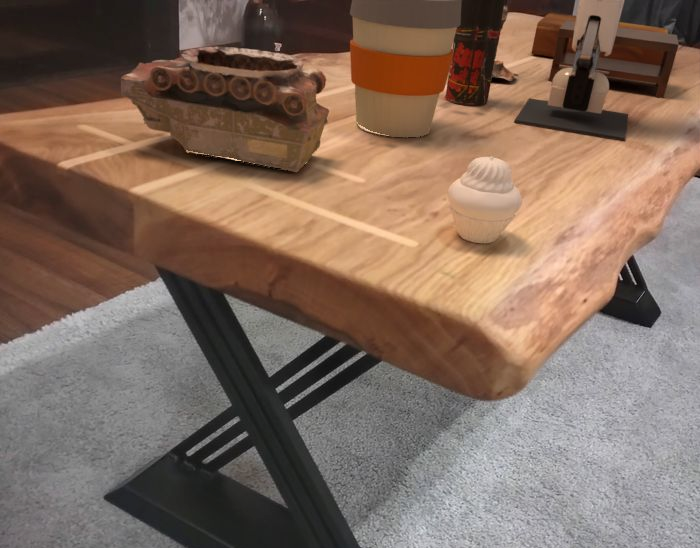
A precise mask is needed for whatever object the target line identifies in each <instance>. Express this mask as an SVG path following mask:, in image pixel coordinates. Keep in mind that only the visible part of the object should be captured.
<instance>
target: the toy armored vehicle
mask: <svg viewBox="0 0 700 548" xmlns="http://www.w3.org/2000/svg"><path fill="white" fill-rule="evenodd" d="M304 65H305V63H304V62H303V61H302V60H301V59H299V58H298V57H296V56H293V55H290V54H286V53H283V52H271V51H268V50H261V49H252V48H251V49H250V48H243V47H242V48H238V47H233V46H232V47H231V46H230V47H229V46H217V45H215V46H204V47H203V46H201V47H196V48H189V49H186V50H184V51H182V53H181V54H180V57H177V58H175V59H170V60H169V59H155V60H152V61H151V62H146V63H143V62H139V63H138V64H137V66H136V67H135V68H134V69H133V70H132V71H131V72H130V73H127V74H126V73H125V74H124V75H122V76H121V77H120V94H121V96H123V97H124V98H127V99H128V100H130V101H131V103H132V105H134V106H135V107H136V108H137V110H138V111H139V113H140V114H141V116H142V120H143V121H144V125H146V126H147V128H148V129H150V130H153V131H158V132H159V131H160V132H165V133H169V134H170V136H171V137H172V138H173V139H175V140H176V141H177V142H178V143H179V144H181V146H182V147H183V149H184V151H185V150H188V151H193V152H198V153H204V154H207V155H208V154H209V155H214V156H222V157H229V158H234V159H237V160H241V161H244V162H250V163H255V164H261V165H266V166H270V167H275V168H281V169H280V170H283V171H287V170H288V172H293V173H297V172H299V171H300V170H302V168H303V167H304V164H305V163H306V162H307V161H308V162H309V160H310V158H311V157H312V156H313V155H314V154H315V152H317V151H318V149H319V148H320V146H321V139H322V134H323V133H324V128H325V126H326V125H327V124H328V121H329V120H328V116H329V113H330V109H328V108H327V107H325V106H323V105H321V104H319V103H318V102H317V95H320V93H321V92H322V91H323V90H324V89H325V87H326V82H327V78H326V75H325V73H324V72H323V71H322V70H321V69H318V68H308V69H304V68H303V67H304ZM244 162H243V163H244ZM308 162H307V163H308ZM270 167H269V168H270ZM275 168H274V169H275Z"/></svg>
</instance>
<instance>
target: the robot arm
mask: <svg viewBox="0 0 700 548" xmlns="http://www.w3.org/2000/svg"><path fill="white" fill-rule="evenodd" d="M577 5H578V6H577V11H576V15H575V16H576V22H575V28H574V35H573V43H572V49H573V50H574V51H575V52H576V51H577V52H576V56H575V60H574V65H573V69H572V73H571V76H569V79H568V84H567V88H566V93H565V97H564V102H563V107H564V108H567V109H573V110H579V111H586V110H587V109H588V105H589V101H590V97H591V93H592V88H593V84H594V80H595V79H593V75H594V71H595V70H596V67H597V63H598V59H599V55H600V51H601V52H605V56H608V55H610V54H611V51H612V48H613V44H614V41H615V37H616V33H617V29H618V24H619V22H621V17H622V11H623V8H624V5H625V0H579V1H578V4H577ZM590 69H591V70H590ZM589 73H590V74H589Z"/></svg>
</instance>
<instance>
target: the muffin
mask: <svg viewBox="0 0 700 548" xmlns="http://www.w3.org/2000/svg"><path fill="white" fill-rule="evenodd" d="M511 176H512V169H511V167H510V165H509V164H508V163H507V162H506V161H504V160H503V159H500V158H497V157H494V156H493V155H491V156H480V157H476V158H474V159H473V160H472V161H470V163H469V164H468V165H467V170H466V172H464V173H463V174H462V175H461V177H460V178H457V179H456V180H455V181H453V182H452V183H451V184H450V186H449V188H448V190H447V198H448V202H449V206H448V207H449V210H450V214H451V216H452V219H453V222H454V225H455V227H456V231H457V234H458V236H459V237H461V239H463V240H465V241H467V242H470V243H476V244H491V243H494V242H495V241H497V239H498V238H499V237H500V236H501V235H502V233H503V232H504V231H505V230H506V228H507V227H508V226H509V225H510V224H511V222H512V221H513V220H514V219H515V217H516V214H517V213H518V212H519V211H520V209H521V208H522V205H523V197H522V194H521V192H520V191H519V189H518V187H516V185H515V183H514V180H513V179H512V177H511Z"/></svg>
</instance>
